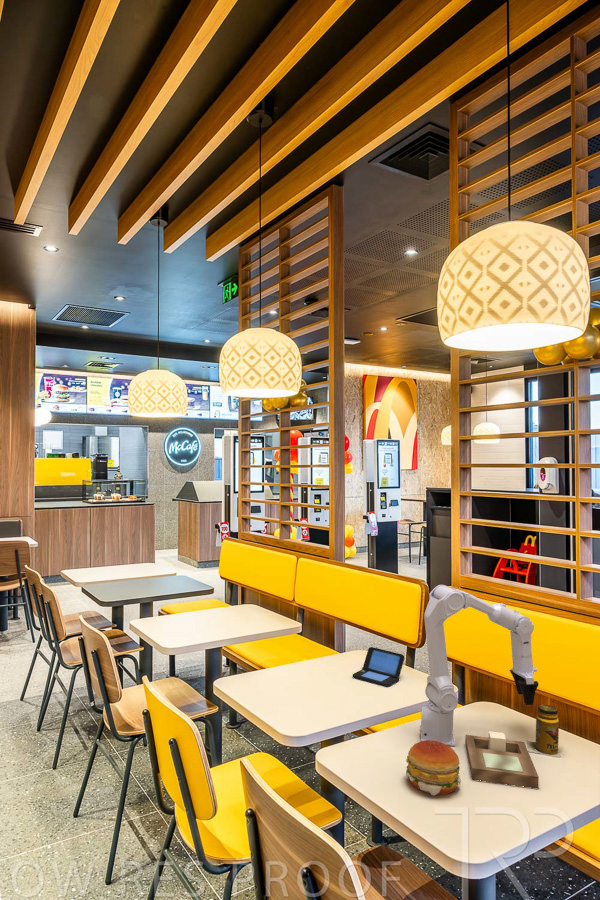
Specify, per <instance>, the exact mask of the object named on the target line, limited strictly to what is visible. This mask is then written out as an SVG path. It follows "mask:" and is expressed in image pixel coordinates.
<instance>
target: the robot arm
mask: <svg viewBox="0 0 600 900" xmlns="http://www.w3.org/2000/svg"><path fill="white" fill-rule="evenodd" d="M428 595H429V596H428V597H429V601H428V603H427V605H426V609H425V610H424V611H425V612H424V616H423V617H424V627H425V629H424V630H425V636H426V637H425V639H426V647H427V655H428V656H427V657H428V664H429V665H428V666H429V675H428V676H427V677H426V683H427V684H426V686H425V695H426V698H427V699H428V705H422V706H421V714H420V715H421V716H420V719H421V720H420V725H419V733H420V741H425V740H432V741H439V742H442V743H444V744H446V745H448V746H449V747H451V746H452V747H455V746H456V743H455V736H454V712H455V710H456V709H457V707H458V704H459V697H458V695H457V693H456V692H455V689H454V688H455V687H454V684H453V682H452V680H451V678H450V673H449V664H448V655H447V645H446V636H445V635H446V634H445V626H444V625H445V624H444V623H445V622H446V620H447V619H448V618H450V617H452V616H453V615H455V614H457V613H459V612H460V611H461V610H463V609H464V610H466V609H468V608H469V607H470V608H472V609H474V610H477V611H478V612H481V613H483V614H486V615H487V617H488V620H489V621H490V622H492V623H494V624H497V625H498V626H501V627H503V628H504V629H507V630H508V631H509V632H510V645H511V658H512V667H511V669H509V672H510V673H511V676H512V678H513V680H514V684H515V687H516V691H517V694H518V695H522V697H523V698H522V699H523V700H524V704H525V706H533V705H534V701H535V695H536V691H537V689H538V687H539V685H540V684H539V682H538V681H537V680H534V673H536V672H538V668H537V667H535V666H534V663H533V650H532V634H533V632H534V630H535V625H534V624H533V622H532V620H531V619H530V618H529V617H528V616H525V615H522V614H521V613H520V612H519V611H518V610H516V609H514V610H513V609H511V608H508V607H507V604H504V603H502V602H501V603H493V604H490V603H489V602H486V601H485V600H483V599H481V598H478V597H477V596H475V595H473V594H471V593H469V592H466V591H464V590H461V589H457V588H455V587H450V586H448V585H445V584H439V585H437V586H435V587H434V588H433V589H432V590H431V591H430V592H429V593H428Z"/></svg>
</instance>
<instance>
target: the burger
mask: <svg viewBox="0 0 600 900" xmlns="http://www.w3.org/2000/svg"><path fill="white" fill-rule="evenodd" d="M405 762H406V763H407V766H406V771H405V778H406V779H409V782H410V784H411V785H413V787H415V788H416V789H418V790H420V791H421V792H424V793H429V794H430V795H431V796H436V795H445V794H450V793H452V792H454V791H455V790H456V788H457V786H458V785H461V783H462V780H461V777H460V758H459V755H458V754H457V753H456V751H455V750H454V749H453V748H452V747H451V746H449V745H446V744H444V743H442V742H439V741H432V740H425V741H421V740H420V741H418V742H416V743H414V744H413V745H412V746H411V747H410V748H409V750H408V752H407V755H406V760H405Z"/></svg>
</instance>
